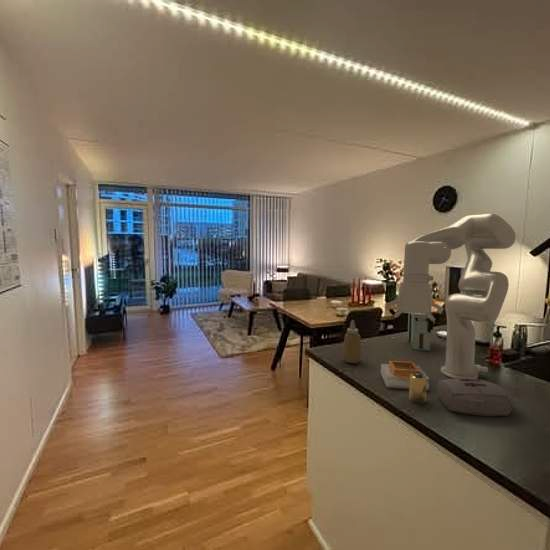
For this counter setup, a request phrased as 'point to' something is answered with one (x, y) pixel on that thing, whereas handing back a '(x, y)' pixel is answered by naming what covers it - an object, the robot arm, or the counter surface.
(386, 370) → the orange white open box
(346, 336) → the squeeze bottle
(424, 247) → the robot arm
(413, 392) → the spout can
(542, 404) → the counter surface
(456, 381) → the grey rounded bag
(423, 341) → the device
